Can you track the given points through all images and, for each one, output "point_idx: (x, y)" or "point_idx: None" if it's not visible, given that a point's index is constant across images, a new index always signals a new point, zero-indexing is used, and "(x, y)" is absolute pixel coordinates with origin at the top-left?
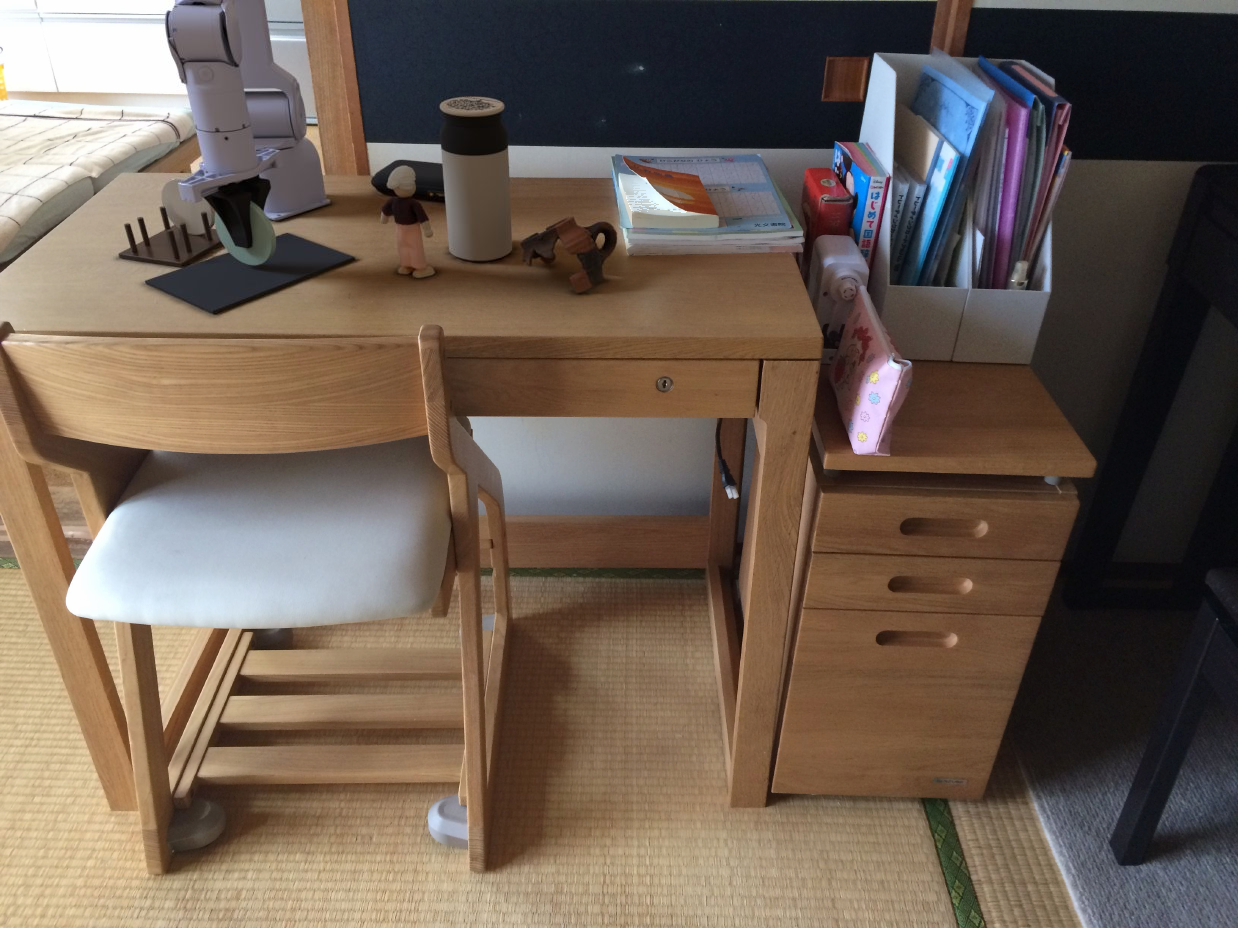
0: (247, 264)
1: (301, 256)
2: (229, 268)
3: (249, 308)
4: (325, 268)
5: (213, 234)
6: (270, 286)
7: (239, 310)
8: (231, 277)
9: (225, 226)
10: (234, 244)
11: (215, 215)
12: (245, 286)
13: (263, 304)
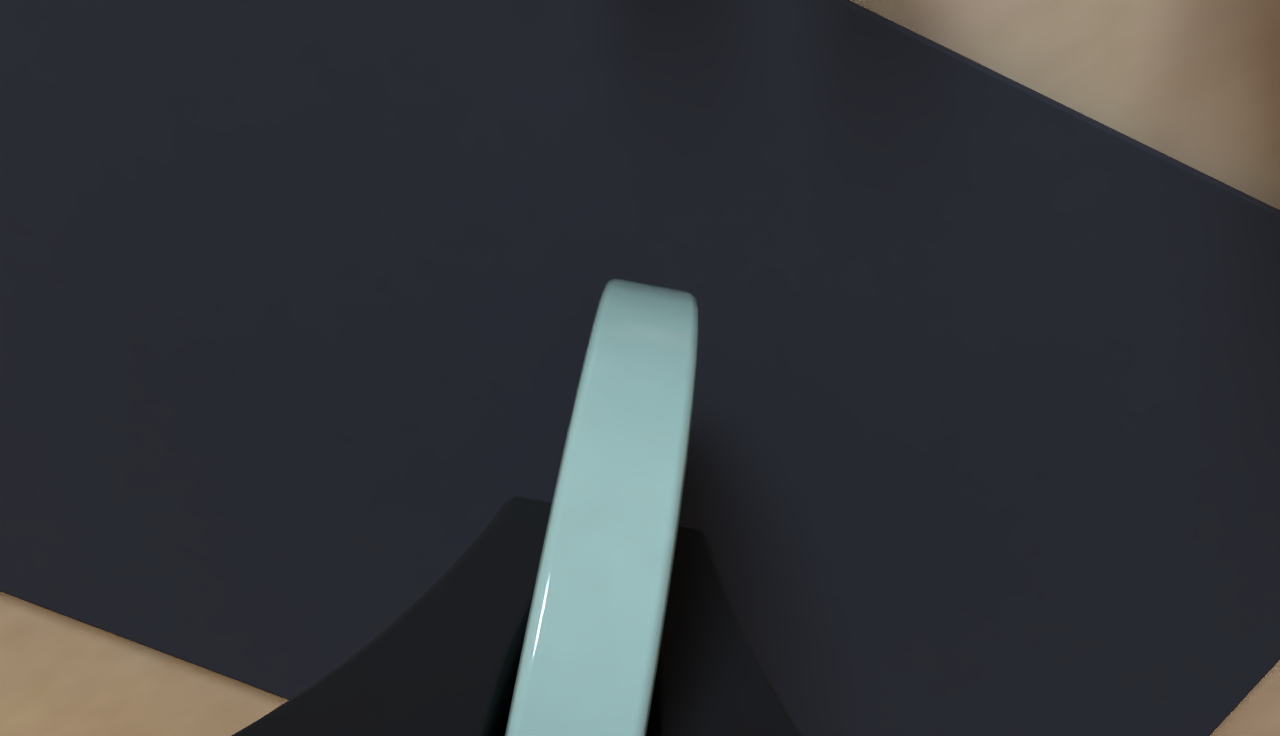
0: None
1: (944, 681)
2: (555, 271)
3: (62, 670)
4: None
5: None
6: None
7: (6, 630)
8: (390, 380)
9: (423, 599)
10: (502, 507)
11: (571, 439)
12: (281, 553)
13: (151, 718)
